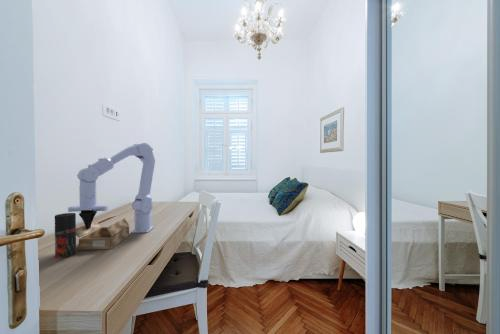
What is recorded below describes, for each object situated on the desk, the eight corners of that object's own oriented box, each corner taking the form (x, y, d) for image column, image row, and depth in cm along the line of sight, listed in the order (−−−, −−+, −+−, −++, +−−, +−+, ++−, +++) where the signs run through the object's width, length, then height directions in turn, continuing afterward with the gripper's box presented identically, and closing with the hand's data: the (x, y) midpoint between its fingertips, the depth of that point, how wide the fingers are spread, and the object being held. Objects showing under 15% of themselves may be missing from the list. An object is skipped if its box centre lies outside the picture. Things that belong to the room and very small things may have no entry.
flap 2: (128, 225, 102) (123, 218, 102) (129, 225, 102) (124, 218, 102) (111, 236, 87) (106, 228, 87) (112, 236, 87) (106, 227, 87)
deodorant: (80, 252, 83) (79, 213, 83) (62, 259, 77) (62, 217, 77) (68, 251, 85) (68, 212, 84) (50, 257, 79) (50, 216, 79)
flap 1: (101, 226, 101) (94, 221, 100) (101, 226, 101) (94, 220, 100) (79, 237, 86) (70, 231, 85) (79, 237, 86) (71, 230, 85)
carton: (102, 236, 101) (102, 226, 101) (129, 235, 103) (129, 226, 103) (78, 250, 85) (78, 239, 85) (110, 249, 86) (110, 238, 86)
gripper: (62, 198, 88) (62, 231, 88) (100, 197, 89) (101, 230, 90) (74, 195, 95) (74, 226, 95) (110, 195, 97) (110, 225, 97)
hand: (88, 228), depth 93 cm, fingers closed, pressing on flap 1
